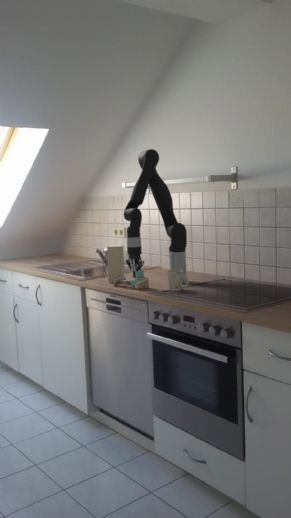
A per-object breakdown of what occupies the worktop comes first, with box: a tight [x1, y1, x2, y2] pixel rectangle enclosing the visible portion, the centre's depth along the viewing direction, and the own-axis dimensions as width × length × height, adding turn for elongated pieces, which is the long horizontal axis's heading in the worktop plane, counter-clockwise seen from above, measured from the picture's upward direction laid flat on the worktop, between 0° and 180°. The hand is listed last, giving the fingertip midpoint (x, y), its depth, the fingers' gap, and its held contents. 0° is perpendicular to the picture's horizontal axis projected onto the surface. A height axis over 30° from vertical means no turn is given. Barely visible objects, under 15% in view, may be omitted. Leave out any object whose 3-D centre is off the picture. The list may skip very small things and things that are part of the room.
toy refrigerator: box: [106, 244, 126, 284], centre depth 295 cm, size 8×7×21 cm
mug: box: [166, 269, 190, 292], centre depth 261 cm, size 8×13×10 cm, turn 51°
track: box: [113, 275, 150, 291], centre depth 277 cm, size 20×8×6 cm, turn 42°
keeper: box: [130, 269, 145, 286], centre depth 273 cm, size 5×5×8 cm
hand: (135, 277), depth 274 cm, fingers closed
